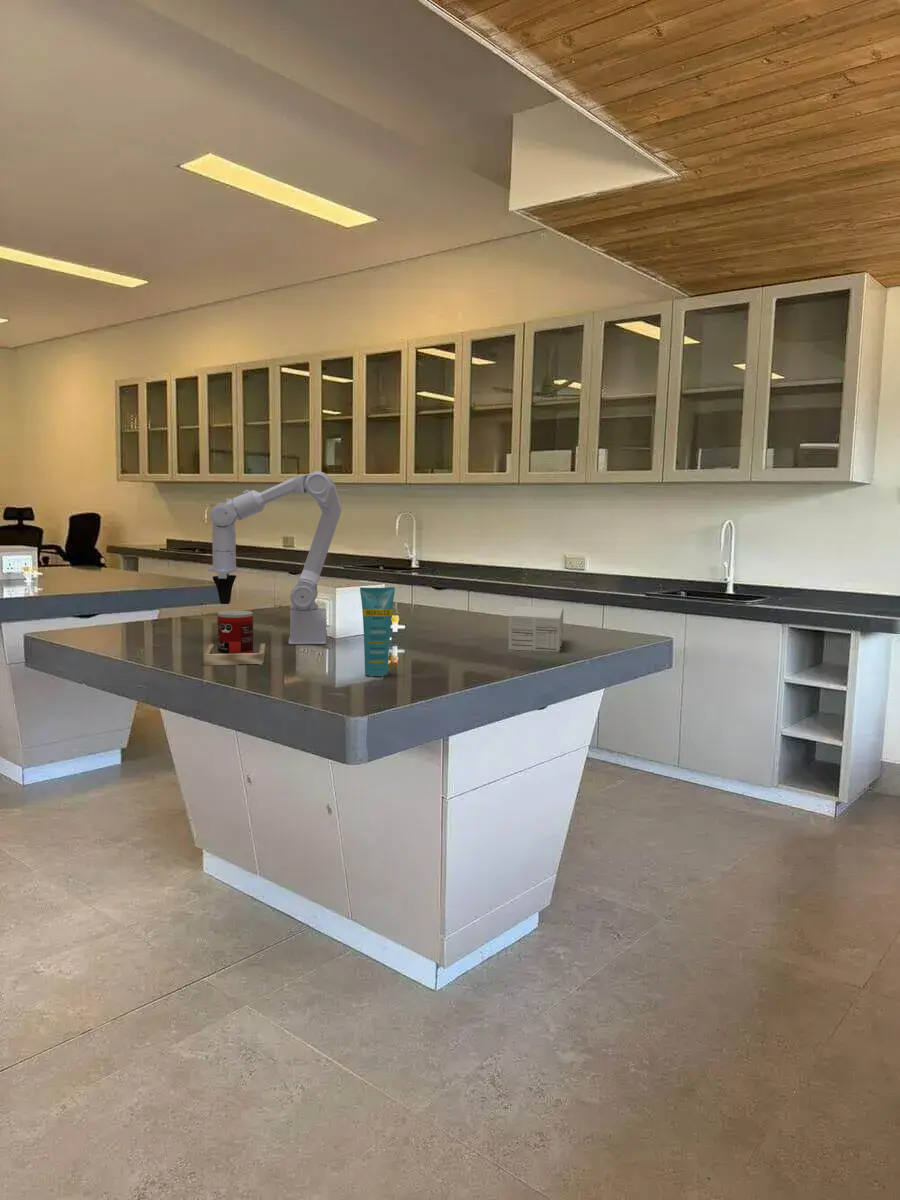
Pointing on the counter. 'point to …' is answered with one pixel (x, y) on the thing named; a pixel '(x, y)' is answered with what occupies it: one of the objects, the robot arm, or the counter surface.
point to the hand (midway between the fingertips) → (224, 603)
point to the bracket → (233, 657)
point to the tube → (377, 628)
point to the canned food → (235, 632)
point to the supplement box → (536, 628)
